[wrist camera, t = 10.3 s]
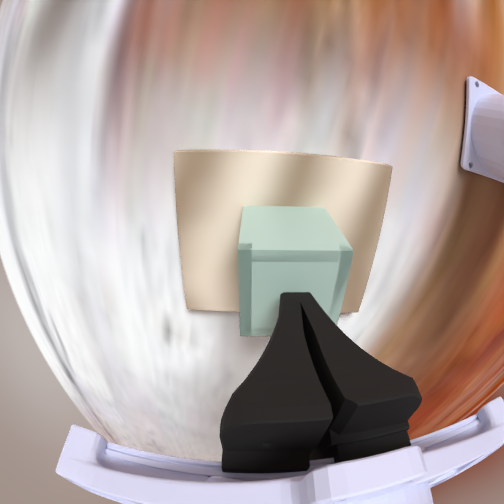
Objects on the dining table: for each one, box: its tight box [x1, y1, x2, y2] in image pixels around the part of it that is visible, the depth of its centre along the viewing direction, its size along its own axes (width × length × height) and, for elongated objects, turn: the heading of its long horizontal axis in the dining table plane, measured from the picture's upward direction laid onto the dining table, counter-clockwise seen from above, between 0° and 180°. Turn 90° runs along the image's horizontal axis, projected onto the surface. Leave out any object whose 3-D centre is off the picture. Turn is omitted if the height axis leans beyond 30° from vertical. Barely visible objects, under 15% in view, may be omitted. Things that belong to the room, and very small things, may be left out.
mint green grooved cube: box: [238, 206, 354, 336], centre depth 16 cm, size 5×5×6 cm
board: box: [174, 150, 392, 313], centre depth 17 cm, size 14×12×6 cm
